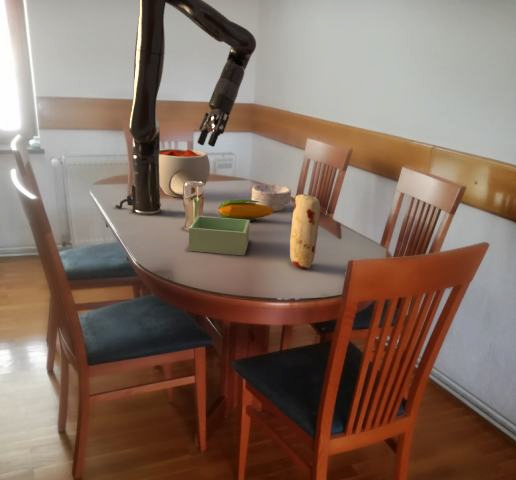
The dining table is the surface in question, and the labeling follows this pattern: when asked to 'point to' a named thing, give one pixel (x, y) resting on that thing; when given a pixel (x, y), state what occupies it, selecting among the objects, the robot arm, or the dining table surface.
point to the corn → (243, 210)
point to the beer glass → (193, 201)
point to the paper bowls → (271, 196)
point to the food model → (304, 230)
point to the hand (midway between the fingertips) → (205, 144)
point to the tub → (219, 235)
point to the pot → (181, 169)
